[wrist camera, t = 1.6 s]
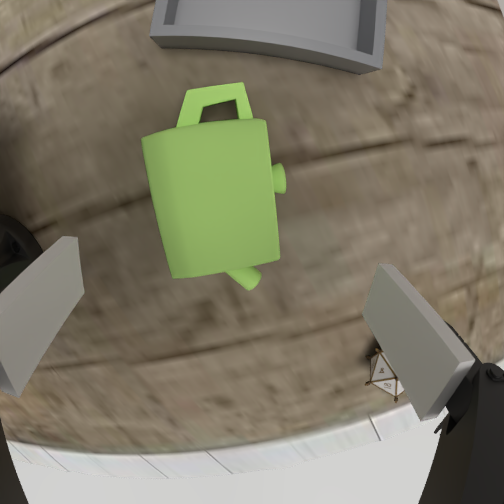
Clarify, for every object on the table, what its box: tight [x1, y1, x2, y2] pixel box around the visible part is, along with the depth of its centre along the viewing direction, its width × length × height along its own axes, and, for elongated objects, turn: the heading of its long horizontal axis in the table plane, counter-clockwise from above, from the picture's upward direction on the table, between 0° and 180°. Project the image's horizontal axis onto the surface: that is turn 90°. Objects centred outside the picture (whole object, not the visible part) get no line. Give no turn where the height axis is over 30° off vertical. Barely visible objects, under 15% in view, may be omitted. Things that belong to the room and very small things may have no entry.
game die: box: [365, 348, 405, 403], centre depth 37 cm, size 9×8×10 cm
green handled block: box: [141, 82, 286, 290], centre depth 25 cm, size 18×10×10 cm, turn 7°
